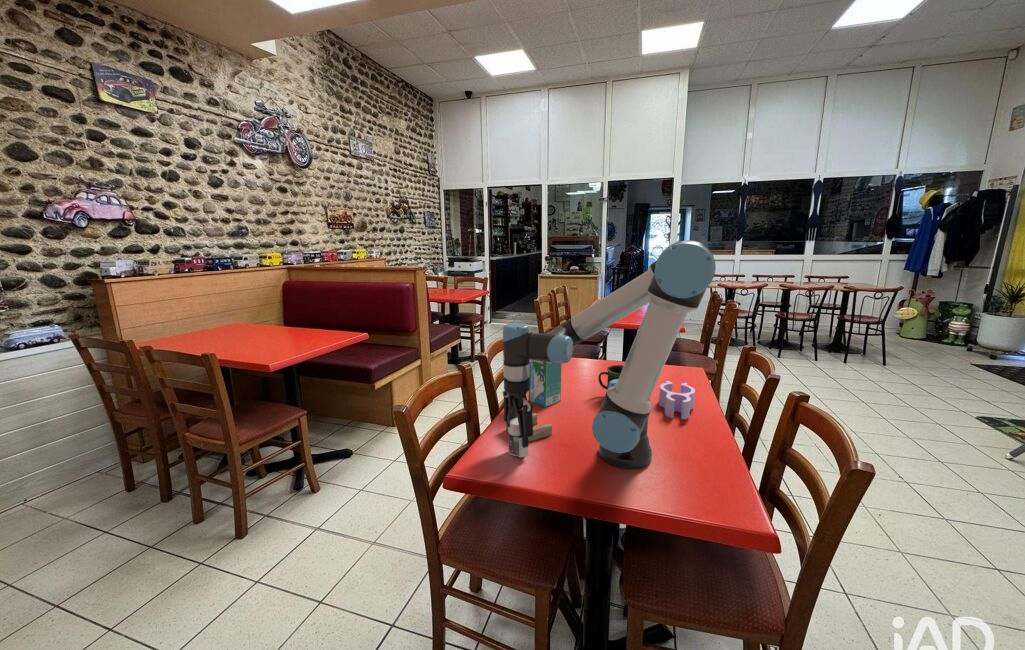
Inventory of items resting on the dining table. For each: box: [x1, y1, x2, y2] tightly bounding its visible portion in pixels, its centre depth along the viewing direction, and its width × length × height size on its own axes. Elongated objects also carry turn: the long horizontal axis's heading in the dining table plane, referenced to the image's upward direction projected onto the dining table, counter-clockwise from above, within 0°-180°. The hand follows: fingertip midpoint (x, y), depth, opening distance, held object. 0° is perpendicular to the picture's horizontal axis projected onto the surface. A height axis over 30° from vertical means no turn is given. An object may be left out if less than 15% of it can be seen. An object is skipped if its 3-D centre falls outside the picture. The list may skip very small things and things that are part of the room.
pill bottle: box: [507, 417, 520, 457], centre depth 119 cm, size 6×6×10 cm
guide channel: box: [505, 412, 553, 443], centre depth 134 cm, size 10×12×5 cm
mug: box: [598, 364, 624, 391], centre depth 161 cm, size 11×15×12 cm
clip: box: [658, 380, 696, 421], centre depth 152 cm, size 20×12×7 cm, turn 161°
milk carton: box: [528, 360, 563, 408], centre depth 156 cm, size 9×9×25 cm
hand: (518, 450), depth 120 cm, fingers closed on pill bottle, 6 cm apart
